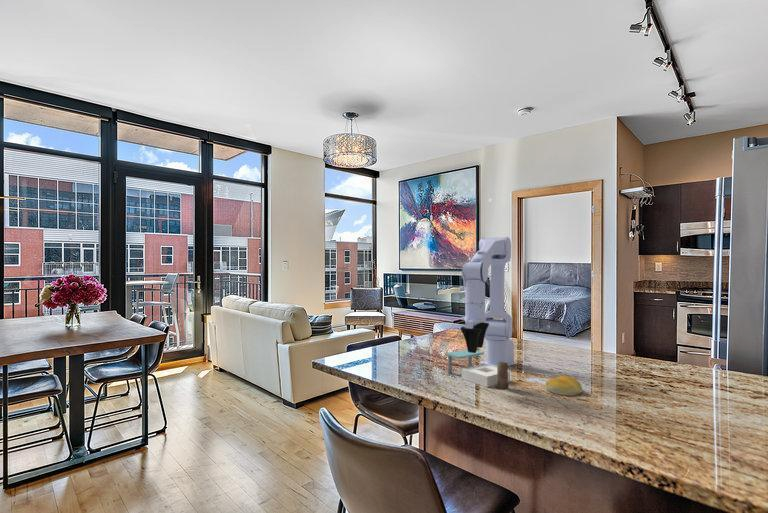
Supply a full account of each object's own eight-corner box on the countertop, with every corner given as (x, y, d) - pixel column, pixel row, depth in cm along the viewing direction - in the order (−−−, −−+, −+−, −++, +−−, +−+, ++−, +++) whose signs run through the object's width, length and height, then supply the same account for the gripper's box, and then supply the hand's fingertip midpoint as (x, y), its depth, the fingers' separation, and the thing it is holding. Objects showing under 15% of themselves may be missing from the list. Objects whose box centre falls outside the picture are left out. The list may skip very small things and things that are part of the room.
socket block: (484, 373, 126) (484, 363, 126) (510, 381, 118) (509, 371, 118) (461, 378, 120) (461, 368, 120) (487, 387, 112) (487, 376, 112)
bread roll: (539, 389, 110) (539, 375, 110) (563, 385, 114) (562, 371, 114) (564, 399, 103) (564, 383, 103) (588, 394, 107) (588, 379, 107)
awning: (470, 368, 132) (470, 348, 132) (483, 372, 127) (483, 352, 127) (445, 373, 126) (445, 353, 126) (459, 377, 121) (459, 356, 121)
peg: (501, 385, 113) (501, 361, 113) (510, 388, 111) (509, 363, 111) (495, 387, 112) (495, 362, 112) (503, 390, 109) (503, 365, 109)
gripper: (468, 300, 124) (468, 343, 123) (454, 304, 111) (454, 353, 110) (491, 301, 120) (491, 345, 120) (479, 306, 107) (480, 356, 107)
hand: (475, 349), depth 115 cm, fingers open, 7 cm apart
